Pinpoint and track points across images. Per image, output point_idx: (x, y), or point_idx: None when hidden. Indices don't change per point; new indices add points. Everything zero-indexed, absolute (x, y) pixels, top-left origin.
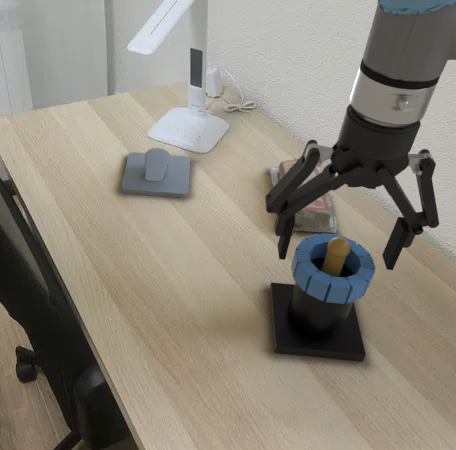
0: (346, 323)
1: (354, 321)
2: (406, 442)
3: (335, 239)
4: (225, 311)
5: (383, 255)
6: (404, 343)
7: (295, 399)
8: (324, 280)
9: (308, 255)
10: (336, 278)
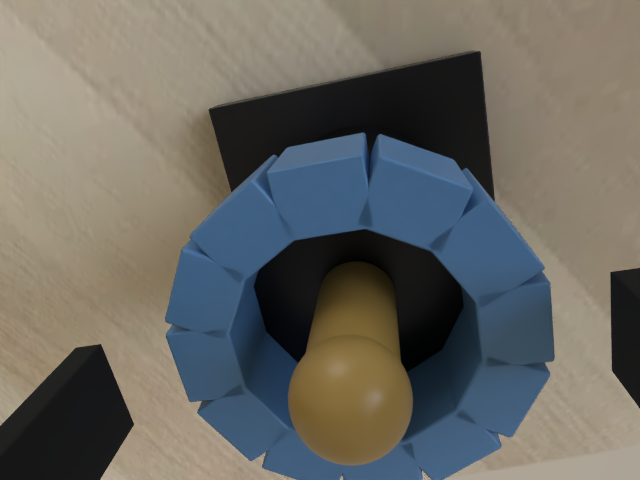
0: None
1: None
2: (569, 454)
3: (313, 433)
4: (127, 230)
5: (616, 295)
6: (632, 198)
7: None
8: (315, 475)
9: (229, 356)
10: None
